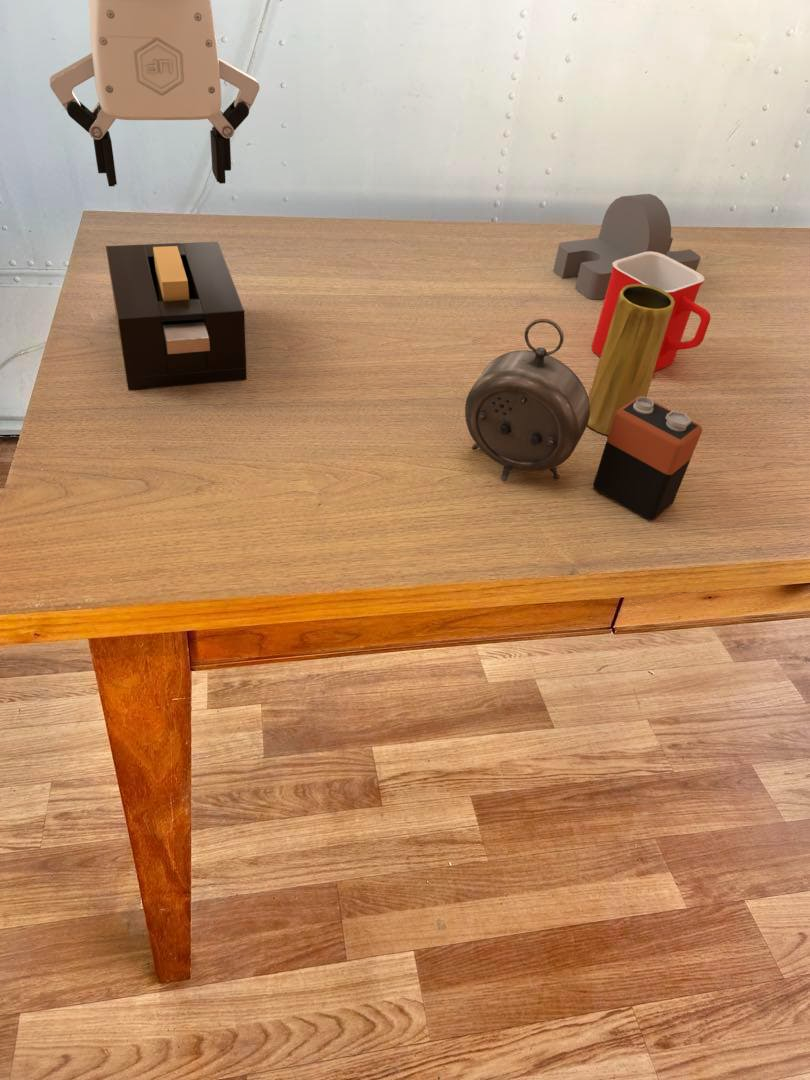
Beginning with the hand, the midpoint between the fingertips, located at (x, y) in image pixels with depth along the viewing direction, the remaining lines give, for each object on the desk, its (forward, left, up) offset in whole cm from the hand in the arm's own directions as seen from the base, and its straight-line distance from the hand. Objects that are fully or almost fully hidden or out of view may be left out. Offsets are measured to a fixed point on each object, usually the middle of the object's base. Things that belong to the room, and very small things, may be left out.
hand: (166, 179), depth 79 cm
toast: (0, +3, -18) cm, 18 cm away
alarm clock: (+28, -25, -19) cm, 42 cm away
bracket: (+61, +13, -19) cm, 65 cm away
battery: (+38, -31, -19) cm, 53 cm away
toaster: (0, +3, -19) cm, 19 cm away
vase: (+42, -19, -19) cm, 50 cm away
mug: (+52, -9, -19) cm, 56 cm away
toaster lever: (0, -6, -13) cm, 15 cm away
